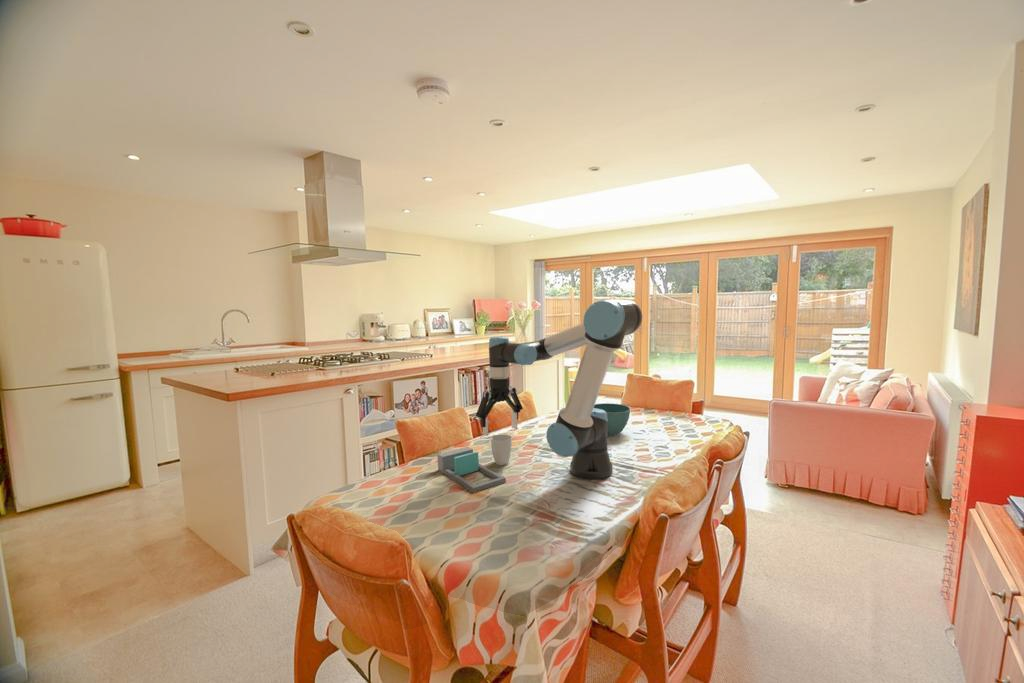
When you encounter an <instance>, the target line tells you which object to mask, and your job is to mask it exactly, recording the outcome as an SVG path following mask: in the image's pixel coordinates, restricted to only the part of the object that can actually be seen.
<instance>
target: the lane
mask: <svg viewBox="0 0 1024 683" xmlns="http://www.w3.org/2000/svg"><path fill="white" fill-rule="evenodd" d="M473 452H474V449H473V448H471V447H469V446H465V447H461V448H458V449H457V448H456V449H451V450H449V451H445V452H441V453H437V470H438V471H440V472H441V473H442V474H444V475H446V476H447V477H449V478H450V479H452V480H453V481H455V482H456V483H458V484H460V485H461V486H463V487H464V488H466V489H467V490H469V491H471V492H472V493H476V491H477V492H480V491H482V489H483V490H485V489H488V488H492V487H495V486H499V485H501V484H505V483H506V482H507V478H506V477H505V476H503V475H502V474H499V473H497V472H496V471H493V469H490V468H488V467H486V466H484V465H482V464H481V463H479V470H478V471H480V472H481V473H483V474H484V475H487V476H489V477H490V478H492V480H488V481H484V482H481V483H479V484H474V483H472V482H471V481H469V480H467V479H466V478H463V477H462V475H460V476H459V475H457V474H456V473H455V467H454V457H457V456H461V455H465V454H469V453H473ZM479 490H480V491H479Z"/></svg>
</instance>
